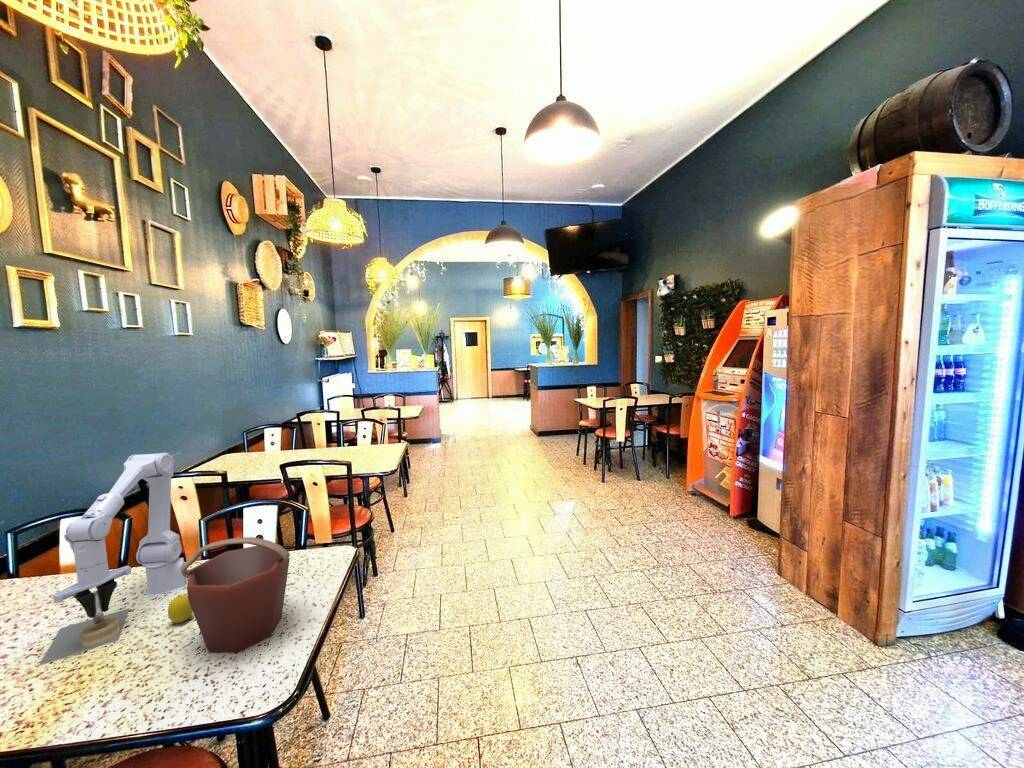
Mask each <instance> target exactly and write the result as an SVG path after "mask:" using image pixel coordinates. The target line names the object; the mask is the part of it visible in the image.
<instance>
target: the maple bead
mask: <svg viewBox="0 0 1024 768" xmlns="http://www.w3.org/2000/svg"><path fill="white" fill-rule="evenodd" d="M119 631H120V627H119V619H117V618H107V619H104V621H103V622H101V623H99V624H90V625H88V626H87V627H85V628H84V629H83V630H81V632H80V641H81V645H82V646H83V647H91V646H95V645H99V644H102V643H104V642H106V641H108V640H110V639H112V638H113V637H115V636H116V635H117V634H118V633H119Z"/></svg>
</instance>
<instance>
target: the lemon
mask: <svg viewBox="0 0 1024 768" xmlns="http://www.w3.org/2000/svg"><path fill="white" fill-rule="evenodd" d="M192 614H193V611H192V608H191V606H190V603H189V600H188V594H187V595H186V594H178V595H177V596H176V597H174V598H173V599H172V600H171V601H170V602H169V605H168V608H167V616H168V618H169V620H170V621H171V622H173V623H176V624H177V623H183V622H185V621H186V620H188V619H189V618H190V617H191V616H192Z"/></svg>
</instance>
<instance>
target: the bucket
mask: <svg viewBox="0 0 1024 768" xmlns="http://www.w3.org/2000/svg"><path fill="white" fill-rule="evenodd" d="M243 544H244V545H247V544H248V545H251V546H249V547H244V548H243V547H242V548H239V549H234V550H227V551H224V552H222V553H220V554H218V555H216V556H214V557H213V558H211V559H209V560H206V561H204V562H203V563H200V564H199V565H197V566H195V567H192V568H191V569H189V567H191V566H192V565H193V564H194V563H195V562H196V561H197V560H198V559H199V558H200V556H201V555H202V554H203V553H204V552H206V551H208V550H212V549H216V548H218V547H219V548H220V547H224V546H229V545H230V546H231V545H243ZM290 555H291V554H290V551H289V550H287V549H286V548H284V546H282V545H280V544H278V543H276V542H273V541H271V540H268V539H263V538H259V537H255V536H254V537H253V536H250V537H249V536H248V537H247V536H245V537H233V538H227V539H221V540H217V541H214V542H211V543H209V544H205V545H203V546H202V547H200V548H199V549H198V550H197V551H196V552H195V553H194V555H193V556H192V557H191V558H190V559H189V560H188V561H185V562H184V564H183V565H182V566H181V573H182V575H183V576H184V577H186V579H187V585H186V590H187V596H188V600H189V603H190V606H191V608H192V611H193V612H192V614H193V615H194V619H195V621H196V623H197V626H198V628H199V632H200V634H201V638H202V640H203V642H204V645H205V647H206V649H207V652H208V654H239V653H240V652H243V651H244V650H246V649H248V648H250V647H253V646H255V645H256V644H258V643H261V642H263V641H265V640H266V639H269V638H270V637H272V636H273V634H274V632H275V630H276V628H277V627H278V625H279V623H280V622H281V620H282V619H283V611H284V603H285V597H286V587H287V580H288V573H289V566H290Z"/></svg>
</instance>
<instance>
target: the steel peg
mask: <svg viewBox="0 0 1024 768" xmlns="http://www.w3.org/2000/svg"><path fill="white" fill-rule="evenodd" d="M91 593H93V594H94V610H95V617H93V618H92V619H93V624H99V623H101V622H103V621H104V612H103V606H102V598H101V591H100V590H98V591H97V590H95V591H91Z"/></svg>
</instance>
